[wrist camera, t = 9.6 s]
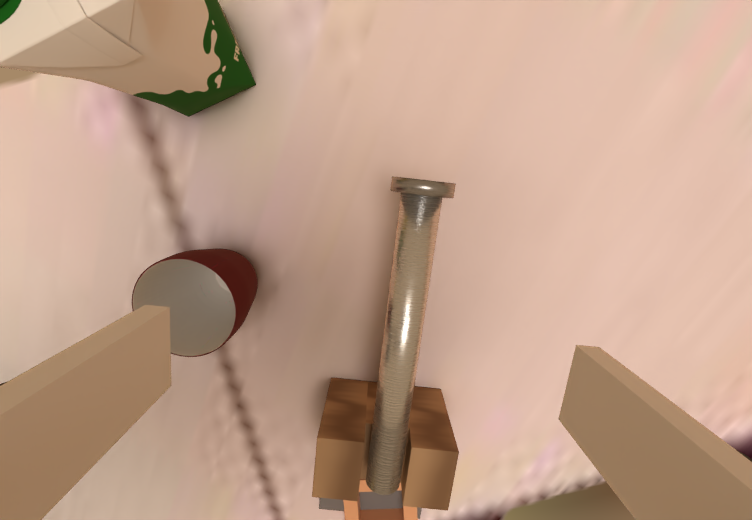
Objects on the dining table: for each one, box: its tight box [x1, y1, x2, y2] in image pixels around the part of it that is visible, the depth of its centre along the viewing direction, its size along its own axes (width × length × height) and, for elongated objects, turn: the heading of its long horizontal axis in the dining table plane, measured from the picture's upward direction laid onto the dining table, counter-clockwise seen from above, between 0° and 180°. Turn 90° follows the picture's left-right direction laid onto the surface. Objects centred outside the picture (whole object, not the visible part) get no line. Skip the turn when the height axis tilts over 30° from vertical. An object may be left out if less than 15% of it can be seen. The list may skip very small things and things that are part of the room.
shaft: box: [366, 177, 456, 495], centre depth 30 cm, size 26×5×5 cm, turn 174°
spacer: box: [343, 479, 418, 520], centre depth 42 cm, size 8×2×8 cm
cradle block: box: [312, 378, 459, 510], centre depth 36 cm, size 12×6×10 cm, turn 84°
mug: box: [132, 249, 258, 357], centre depth 33 cm, size 11×8×10 cm
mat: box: [319, 490, 422, 519], centre depth 43 cm, size 12×11×1 cm
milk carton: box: [0, 0, 256, 116], centre depth 24 cm, size 9×9×20 cm
